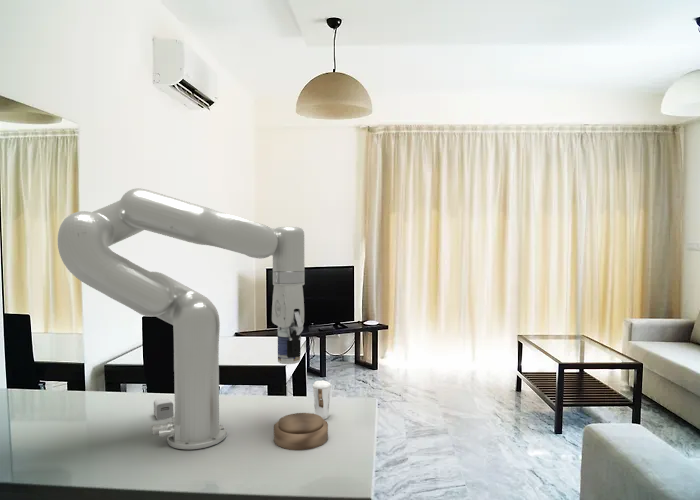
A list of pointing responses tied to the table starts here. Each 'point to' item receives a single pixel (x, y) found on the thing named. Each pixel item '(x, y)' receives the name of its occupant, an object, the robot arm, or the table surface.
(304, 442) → the walnut stand
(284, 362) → the pill bottle
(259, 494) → the table surface
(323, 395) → the milkshake
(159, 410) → the usb wall charger
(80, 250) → the robot arm
